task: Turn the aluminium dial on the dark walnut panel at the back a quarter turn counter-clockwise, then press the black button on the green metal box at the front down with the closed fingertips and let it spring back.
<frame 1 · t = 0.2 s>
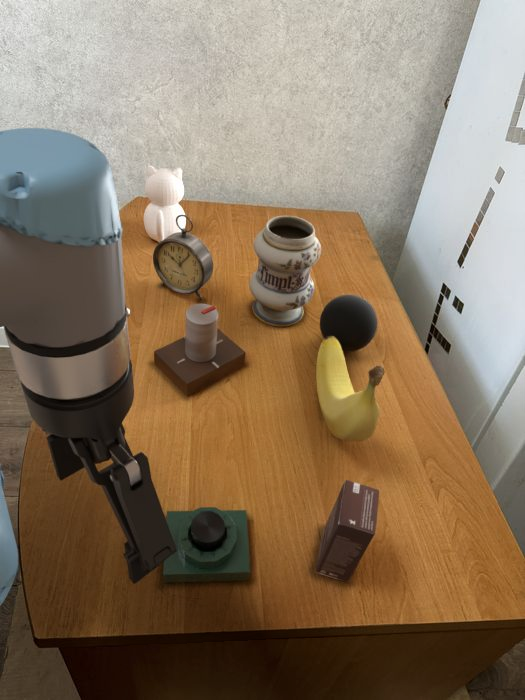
hand: (105, 518, 52), 14 cm above the table, tool pointing down, fingers open, 13 cm apart
dial panel: (200, 364, 88), on the table
dial: (201, 332, 84), point 7 cm above the table, hinge at 0.0°
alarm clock: (184, 291, 103), on the table
button: (207, 530, 62), point 5 cm above the table, slide at 0.1 cm
decorative ball: (342, 344, 96), on the table
cat figurine: (164, 237, 116), on the table
button box: (206, 549, 65), on the table
banana: (333, 414, 84), on the table
box: (335, 556, 67), on the table
apothecary jar: (277, 310, 102), on the table
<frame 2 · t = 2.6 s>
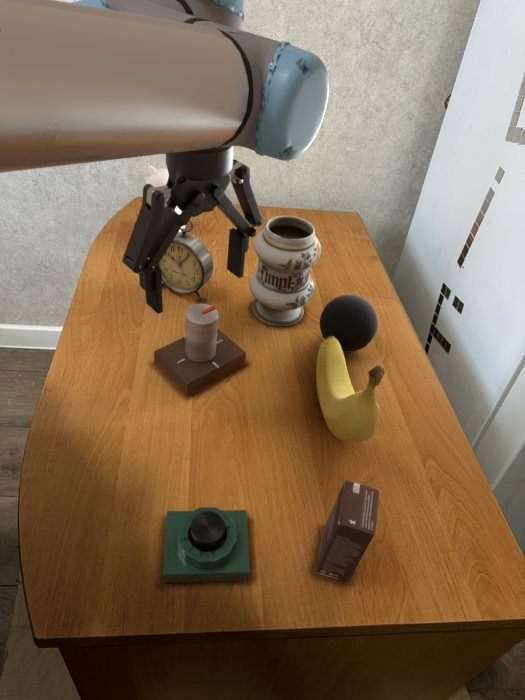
hand: (196, 289, 72), 19 cm above the table, tool pointing down, fingers open, 13 cm apart
nothing on the table moved.
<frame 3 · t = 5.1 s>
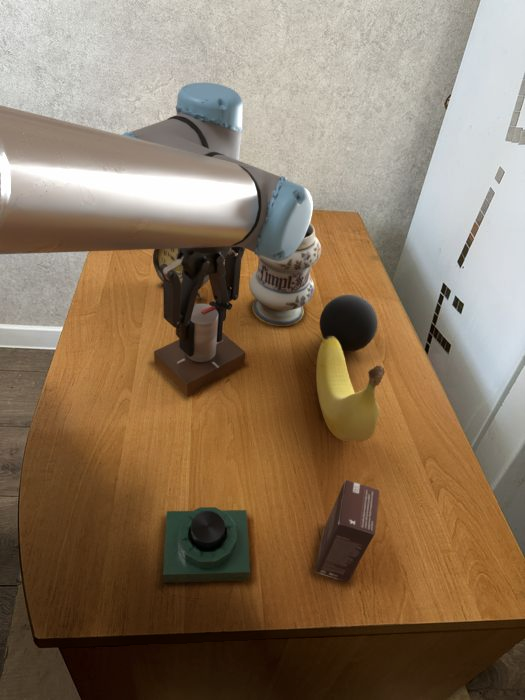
hand: (200, 343, 85), 5 cm above the table, tool pointing down, fingers closed on dial, 5 cm apart
dial: (201, 332, 84), point 7 cm above the table, hinge at 0.1°, touching gripper
everything else where it was.
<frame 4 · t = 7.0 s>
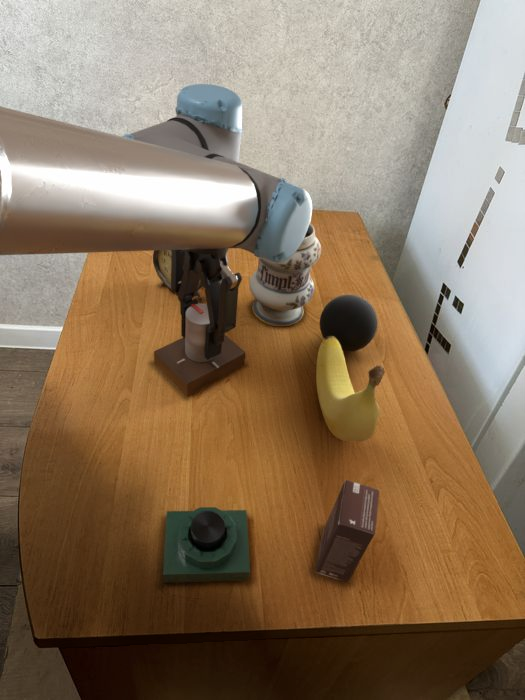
hand: (200, 344, 85), 5 cm above the table, tool pointing down, fingers open, 5 cm apart
dial: (201, 332, 84), point 7 cm above the table, hinge at 90.8°
everything else where it was.
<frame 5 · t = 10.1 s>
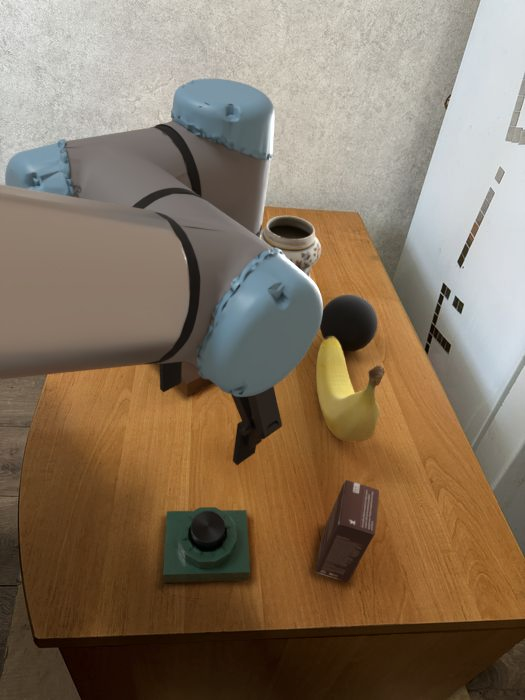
hand: (205, 419, 62), 14 cm above the table, tool pointing down, fingers open, 13 cm apart
nothing on the table moved.
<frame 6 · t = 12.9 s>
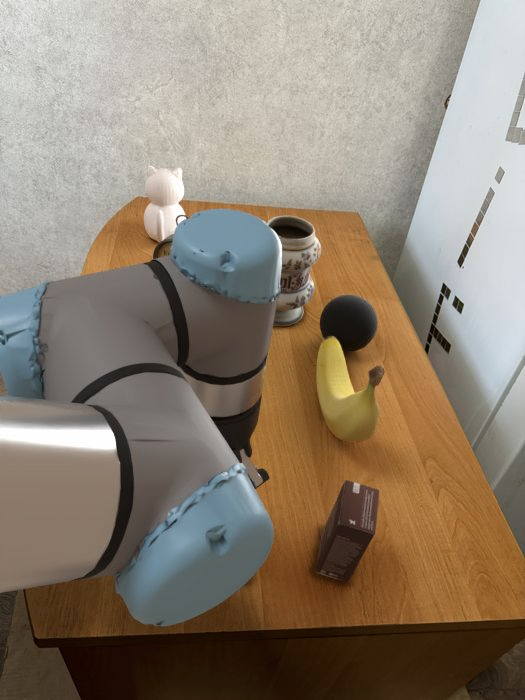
hand: (209, 524, 61), 6 cm above the table, tool pointing down, fingers closed
button: (207, 530, 62), point 5 cm above the table, slide at 0.1 cm, touching gripper
everything else where it was.
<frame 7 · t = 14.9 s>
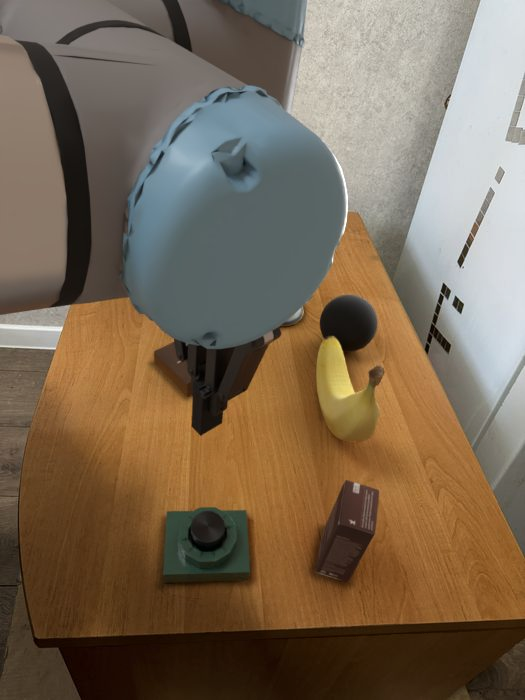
hand: (206, 424, 53), 21 cm above the table, tool pointing down, fingers closed
button: (207, 530, 62), point 5 cm above the table, slide at 0.1 cm
everything else where it was.
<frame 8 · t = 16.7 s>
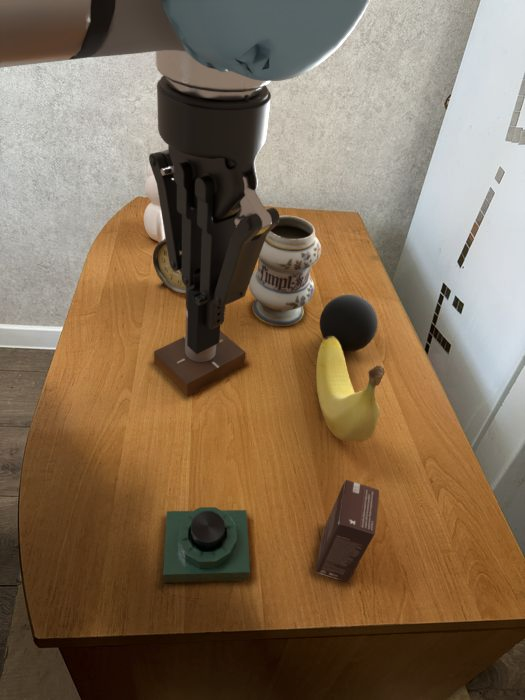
hand: (203, 344, 51), 28 cm above the table, tool pointing down, fingers closed
nothing on the table moved.
at the end: dial at +91° (first picture: +0°); button pushed in 1.0 cm at the most during the clip, back to where it started at the end; button slide at 0.1 cm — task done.
